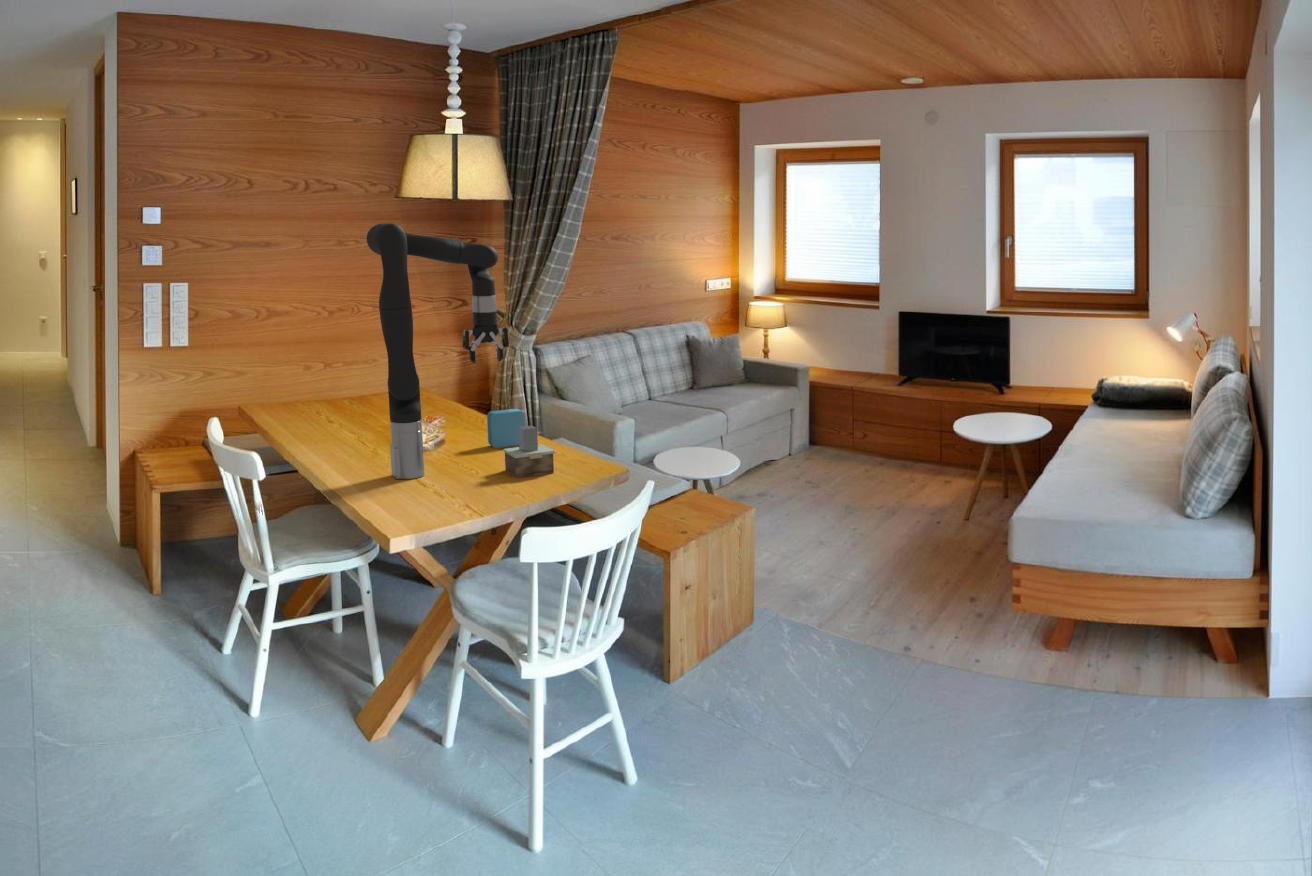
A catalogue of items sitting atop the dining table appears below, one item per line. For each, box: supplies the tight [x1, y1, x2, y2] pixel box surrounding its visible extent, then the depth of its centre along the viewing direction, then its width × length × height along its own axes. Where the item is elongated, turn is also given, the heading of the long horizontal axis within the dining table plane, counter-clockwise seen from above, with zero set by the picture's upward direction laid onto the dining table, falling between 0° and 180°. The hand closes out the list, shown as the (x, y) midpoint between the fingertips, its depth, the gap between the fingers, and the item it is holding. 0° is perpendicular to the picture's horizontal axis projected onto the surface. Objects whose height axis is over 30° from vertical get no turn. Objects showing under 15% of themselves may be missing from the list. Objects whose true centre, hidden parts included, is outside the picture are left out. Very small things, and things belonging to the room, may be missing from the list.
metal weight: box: [518, 425, 539, 452], centre depth 321 cm, size 4×4×7 cm
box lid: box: [503, 443, 556, 459], centre depth 321 cm, size 13×11×2 cm
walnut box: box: [504, 452, 555, 479], centre depth 323 cm, size 12×10×6 cm
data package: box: [486, 408, 526, 449], centre depth 357 cm, size 12×4×12 cm, turn 117°
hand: (486, 361), depth 330 cm, fingers open, 8 cm apart
